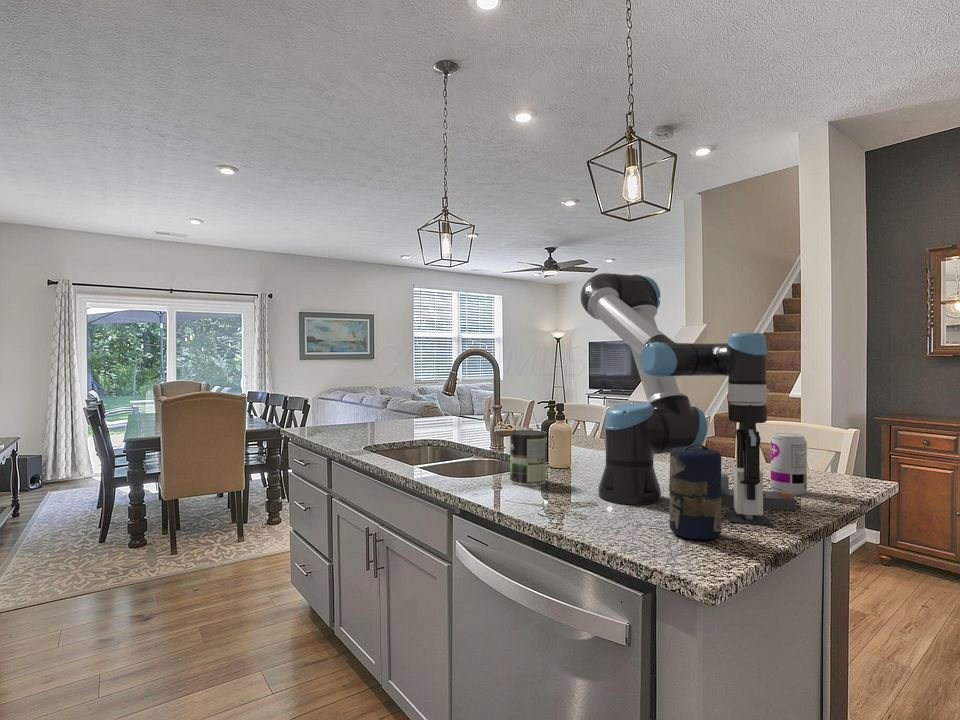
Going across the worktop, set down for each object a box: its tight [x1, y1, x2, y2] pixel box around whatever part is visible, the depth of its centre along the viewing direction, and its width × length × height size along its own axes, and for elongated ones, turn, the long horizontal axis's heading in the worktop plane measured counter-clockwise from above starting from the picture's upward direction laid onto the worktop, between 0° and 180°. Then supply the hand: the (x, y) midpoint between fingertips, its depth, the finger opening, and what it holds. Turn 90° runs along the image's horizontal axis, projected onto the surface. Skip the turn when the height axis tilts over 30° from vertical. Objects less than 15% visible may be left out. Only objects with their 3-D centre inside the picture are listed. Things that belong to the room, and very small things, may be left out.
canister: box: [668, 444, 722, 541], centre depth 106 cm, size 10×10×18 cm
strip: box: [721, 473, 797, 511], centre depth 129 cm, size 26×10×6 cm, turn 73°
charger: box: [733, 467, 764, 520], centre depth 117 cm, size 5×5×10 cm
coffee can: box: [509, 429, 547, 487], centre depth 153 cm, size 10×10×14 cm
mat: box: [724, 510, 773, 527], centre depth 117 cm, size 8×8×1 cm
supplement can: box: [770, 432, 808, 496], centre depth 142 cm, size 8×8×15 cm
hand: (747, 510), depth 117 cm, fingers closed on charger, 5 cm apart
